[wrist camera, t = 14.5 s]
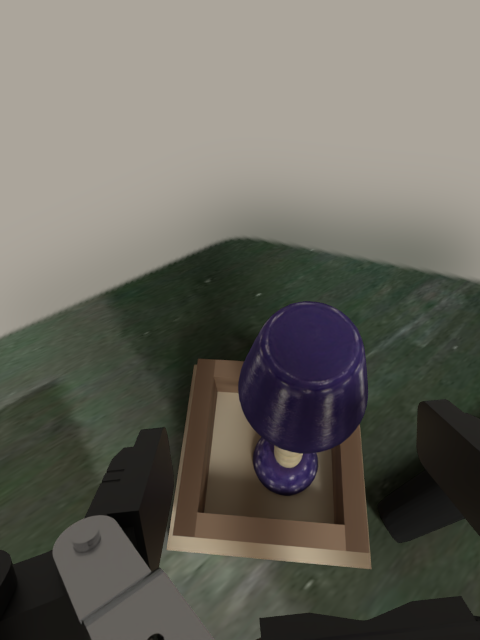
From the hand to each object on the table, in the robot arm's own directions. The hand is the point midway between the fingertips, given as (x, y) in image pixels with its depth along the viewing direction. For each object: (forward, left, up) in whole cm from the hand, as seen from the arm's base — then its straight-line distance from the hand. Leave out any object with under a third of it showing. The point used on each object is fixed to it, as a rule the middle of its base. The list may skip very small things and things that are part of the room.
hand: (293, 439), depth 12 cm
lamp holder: (0, -2, -15) cm, 16 cm away
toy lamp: (0, -2, -14) cm, 14 cm away
